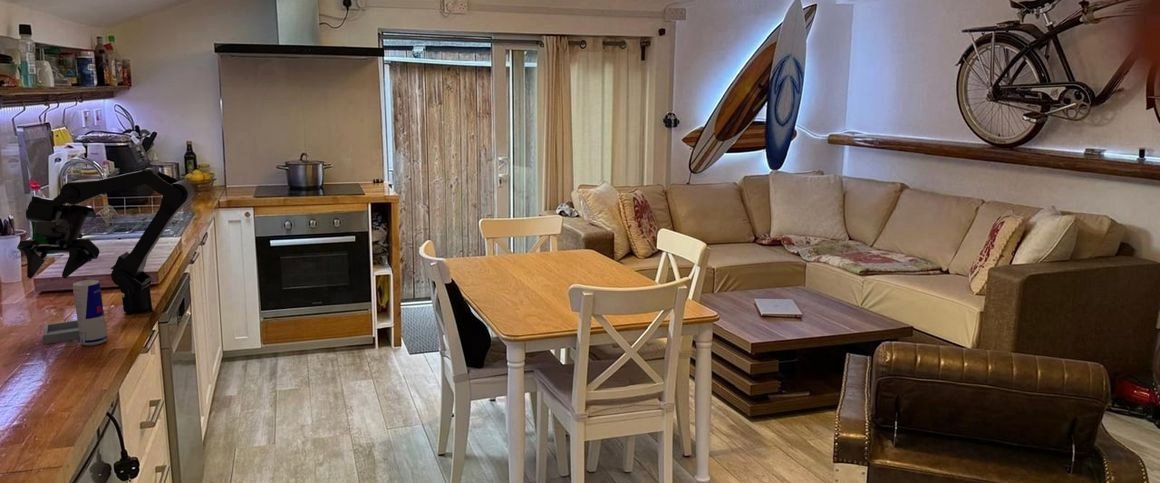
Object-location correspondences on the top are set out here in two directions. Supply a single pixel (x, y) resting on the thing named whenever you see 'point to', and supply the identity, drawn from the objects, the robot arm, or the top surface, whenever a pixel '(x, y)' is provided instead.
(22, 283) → the top surface
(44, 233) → the robot arm
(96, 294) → the beverage can
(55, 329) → the tray
